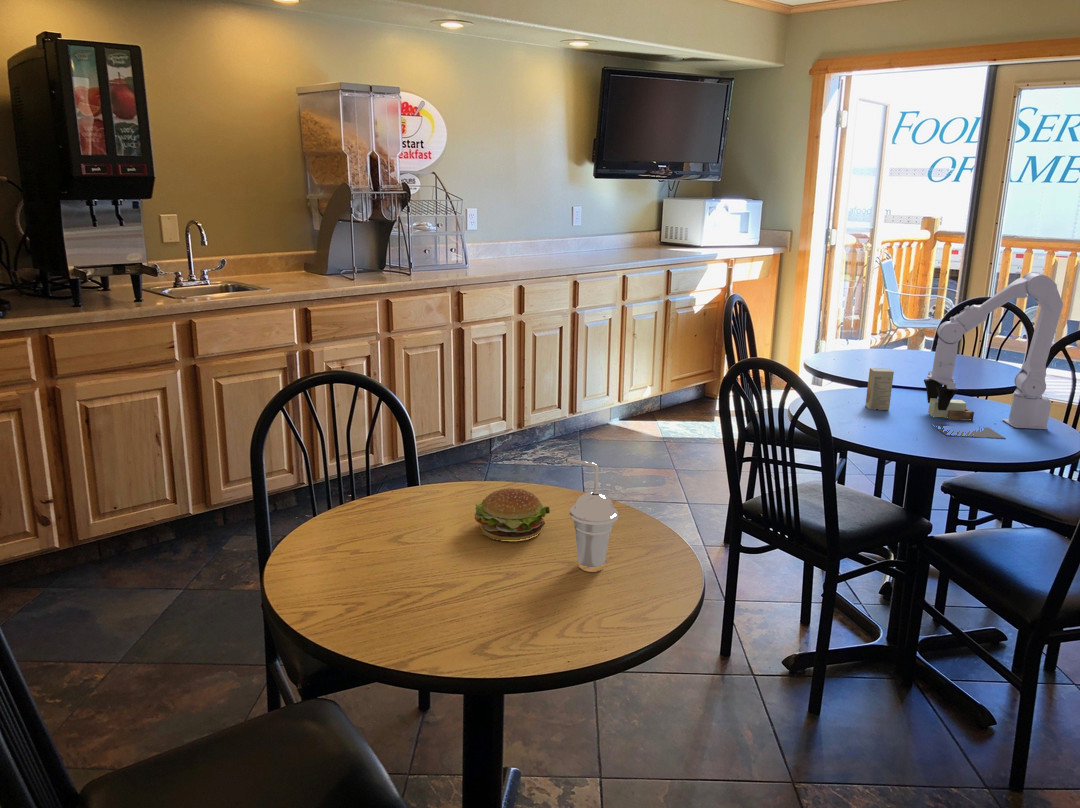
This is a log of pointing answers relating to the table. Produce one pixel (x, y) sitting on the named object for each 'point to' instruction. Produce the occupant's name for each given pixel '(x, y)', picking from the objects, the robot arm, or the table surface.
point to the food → (511, 514)
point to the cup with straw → (592, 522)
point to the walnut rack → (961, 414)
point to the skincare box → (879, 388)
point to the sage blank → (953, 405)
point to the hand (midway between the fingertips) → (936, 406)
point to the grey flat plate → (976, 433)
